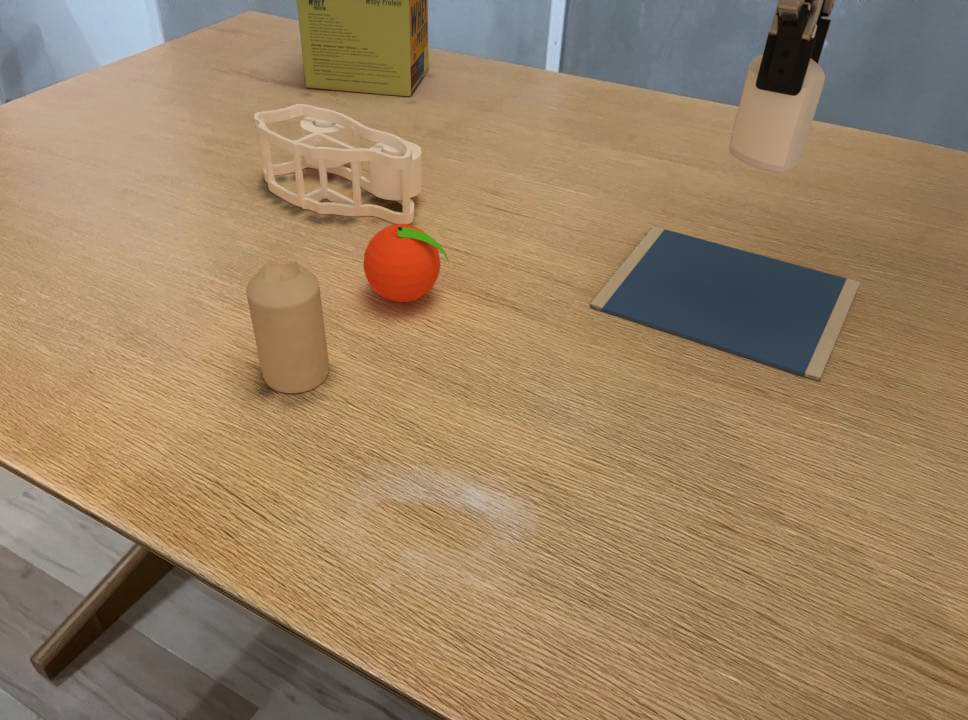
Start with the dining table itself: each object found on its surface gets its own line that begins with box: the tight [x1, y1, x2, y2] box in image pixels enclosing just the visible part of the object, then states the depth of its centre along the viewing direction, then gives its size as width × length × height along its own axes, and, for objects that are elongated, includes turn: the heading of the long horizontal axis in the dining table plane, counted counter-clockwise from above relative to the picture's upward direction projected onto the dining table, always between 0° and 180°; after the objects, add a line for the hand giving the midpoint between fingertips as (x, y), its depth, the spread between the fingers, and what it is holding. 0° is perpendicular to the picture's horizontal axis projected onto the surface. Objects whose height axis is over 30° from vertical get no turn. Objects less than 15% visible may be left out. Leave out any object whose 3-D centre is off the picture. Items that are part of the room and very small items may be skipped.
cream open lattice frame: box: [253, 103, 423, 225], centre depth 88 cm, size 20×11×7 cm, turn 46°
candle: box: [245, 260, 330, 394], centre depth 65 cm, size 6×6×10 cm
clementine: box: [363, 223, 450, 303], centre depth 74 cm, size 8×7×7 cm
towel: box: [589, 225, 861, 382], centre depth 75 cm, size 20×16×1 cm
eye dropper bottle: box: [728, 2, 826, 174], centre depth 63 cm, size 4×6×12 cm
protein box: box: [296, 0, 430, 97], centre depth 111 cm, size 10×15×16 cm
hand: (785, 78), depth 63 cm, fingers closed on eye dropper bottle, 3 cm apart
